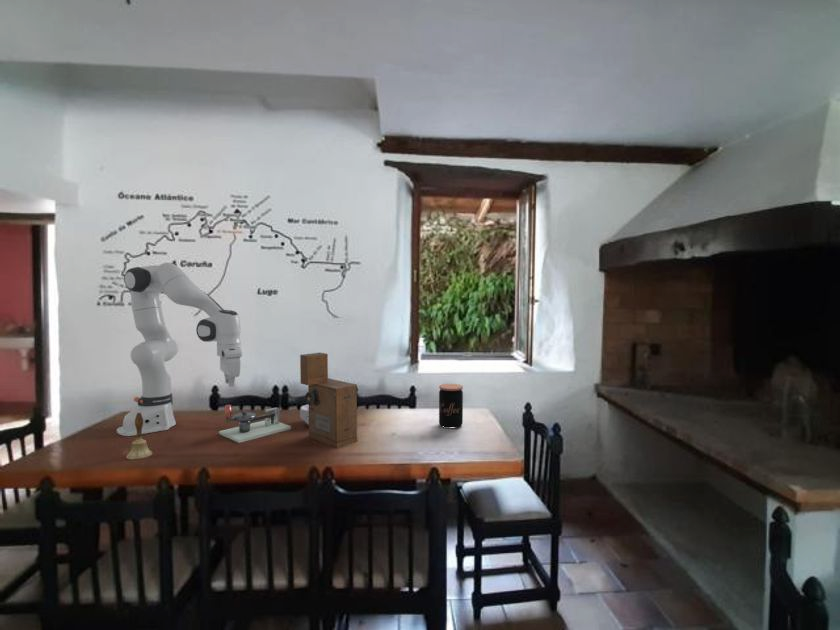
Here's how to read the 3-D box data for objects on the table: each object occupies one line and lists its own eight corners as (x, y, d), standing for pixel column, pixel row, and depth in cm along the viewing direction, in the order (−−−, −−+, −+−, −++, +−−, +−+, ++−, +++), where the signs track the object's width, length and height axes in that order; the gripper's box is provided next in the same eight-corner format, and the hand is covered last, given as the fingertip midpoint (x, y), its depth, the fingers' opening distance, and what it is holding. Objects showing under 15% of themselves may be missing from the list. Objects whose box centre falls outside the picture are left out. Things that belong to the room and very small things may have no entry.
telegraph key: (231, 437, 183) (230, 408, 183) (220, 432, 189) (220, 404, 188) (279, 425, 200) (279, 398, 199) (269, 421, 206) (268, 394, 205)
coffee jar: (435, 427, 203) (435, 387, 202) (443, 420, 213) (443, 382, 212) (458, 430, 199) (458, 389, 198) (465, 423, 209) (465, 384, 208)
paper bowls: (314, 417, 219) (314, 400, 218) (340, 421, 212) (340, 404, 212) (293, 425, 205) (293, 408, 205) (320, 430, 198) (320, 412, 198)
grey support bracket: (267, 426, 199) (267, 410, 199) (265, 425, 201) (264, 409, 200) (279, 423, 204) (279, 408, 203) (276, 422, 205) (276, 407, 205)
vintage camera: (300, 439, 186) (299, 354, 184) (328, 431, 197) (327, 351, 195) (328, 450, 174) (328, 359, 172) (357, 441, 184) (356, 355, 182)
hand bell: (149, 450, 174) (147, 408, 173) (155, 455, 168) (153, 413, 167) (123, 455, 168) (122, 413, 167) (129, 461, 162) (127, 417, 161)
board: (238, 442, 182) (238, 419, 181) (219, 433, 193) (218, 411, 192) (291, 429, 200) (290, 407, 199) (270, 421, 211) (269, 401, 210)
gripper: (215, 348, 188) (216, 381, 189) (225, 354, 171) (226, 390, 172) (231, 347, 192) (232, 379, 193) (243, 353, 175) (243, 388, 176)
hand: (229, 384), depth 182 cm, fingers open, 5 cm apart
